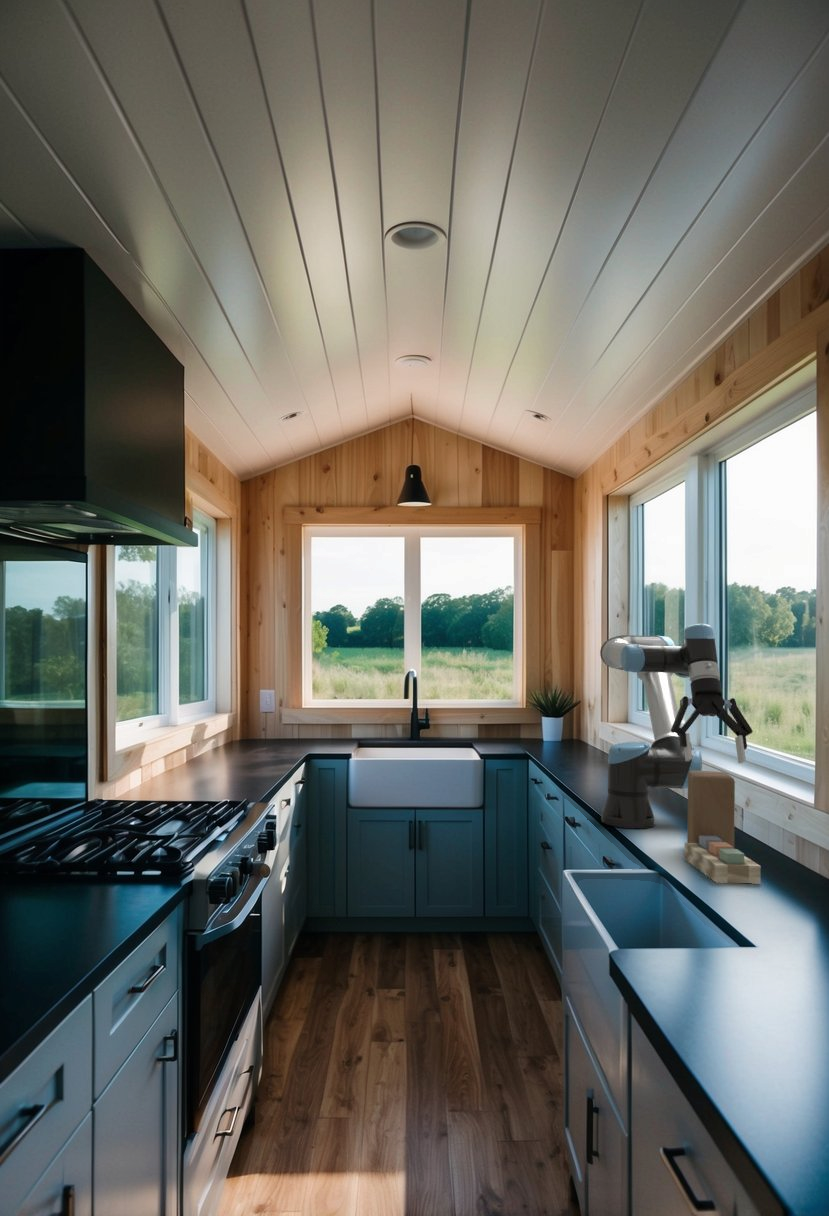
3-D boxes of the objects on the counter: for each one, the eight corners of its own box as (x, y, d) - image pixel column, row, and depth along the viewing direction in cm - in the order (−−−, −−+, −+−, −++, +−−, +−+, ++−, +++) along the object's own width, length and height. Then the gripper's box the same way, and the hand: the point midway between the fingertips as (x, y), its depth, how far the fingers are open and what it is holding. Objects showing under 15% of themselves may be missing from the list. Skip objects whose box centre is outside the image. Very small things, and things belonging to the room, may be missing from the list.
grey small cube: (698, 852, 191) (699, 835, 191) (715, 852, 191) (715, 835, 191) (705, 856, 187) (705, 839, 187) (721, 856, 187) (722, 839, 187)
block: (734, 859, 193) (735, 778, 194) (692, 856, 195) (693, 775, 196) (727, 849, 203) (727, 771, 204) (686, 846, 205) (687, 769, 206)
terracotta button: (708, 858, 185) (708, 841, 185) (725, 859, 185) (725, 842, 185) (715, 863, 181) (715, 846, 181) (732, 864, 181) (732, 846, 181)
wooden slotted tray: (684, 859, 192) (684, 842, 192) (724, 859, 192) (724, 843, 193) (715, 883, 173) (716, 865, 173) (760, 884, 173) (760, 865, 174)
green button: (719, 866, 179) (719, 848, 179) (736, 866, 179) (736, 849, 179) (726, 871, 175) (726, 853, 175) (744, 871, 175) (744, 853, 175)
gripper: (662, 674, 202) (671, 755, 193) (758, 678, 202) (771, 759, 193) (653, 683, 208) (661, 762, 200) (745, 687, 209) (757, 766, 200)
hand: (715, 761), depth 197 cm, fingers open, 13 cm apart
